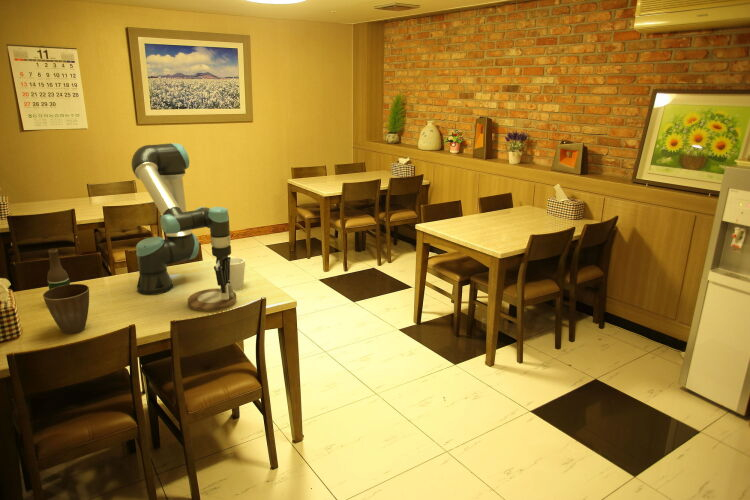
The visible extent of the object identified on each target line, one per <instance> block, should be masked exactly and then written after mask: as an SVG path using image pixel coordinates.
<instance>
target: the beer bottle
mask: <svg viewBox="0 0 750 500" xmlns="http://www.w3.org/2000/svg"><path fill="white" fill-rule="evenodd" d="M47 253H48V256H49V270H48V271H47V275H46V277H47V278H46V279H47V284H48V286H47V287H48V290H50V289H52V288H55V287H58V286H63V285H69V284H71V283H70V277H69V274H68V273H67V271H66V270H65V269H64V268H63V266H62V264H61V260H60V257H59V250H58V249H57V248H51V249H49V250H47Z"/></svg>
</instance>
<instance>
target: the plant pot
mask: <svg viewBox="0 0 750 500" xmlns="http://www.w3.org/2000/svg"><path fill="white" fill-rule="evenodd" d="M42 297H43V300H44V303H45V305H46V307H47V309H48V311H49V313H50V315H51V317H52V319H53V321H54V322H55V324H56V325H57V327H58V328H59V329H60V331H61V332H62V333H63V334H64V335H65V334H66V335H74V334H78V333H81V332H83V331H84V330H85V329H86V326H87V321H88V314H89V308H90V287H89V286H88V285H87V284H83V283H70V284H69V285H63V286H58V287H55V288H52V289H50V290H49V289H48V290H46V291H44V293H43V294H42Z"/></svg>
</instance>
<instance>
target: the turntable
mask: <svg viewBox="0 0 750 500" xmlns="http://www.w3.org/2000/svg"><path fill="white" fill-rule="evenodd" d="M227 284H228V283H227ZM228 291H229V299H228V300H223V299H221V288H208V289H203V290H198V291H196V292H194V293H192V294H191V295H190V296H189V297H188V298H187V304H188V306H189V307H190V308H191V309H194V310H199V311H215V310H220V309H224V308H227V307H229V306H232V305H233V304H234V303H235V302H236V301H237V294H236V292H235V290H233V284H228Z"/></svg>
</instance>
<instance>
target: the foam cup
mask: <svg viewBox="0 0 750 500" xmlns="http://www.w3.org/2000/svg"><path fill="white" fill-rule="evenodd" d="M245 267H246V259H245V258H242V257H231V260H230V280H228V281H229V282H230V284H233V291H235V290H236V291H238V290H241V289H243V288H244V283H245V282H244V280H245ZM227 284H229V283H227Z"/></svg>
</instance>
